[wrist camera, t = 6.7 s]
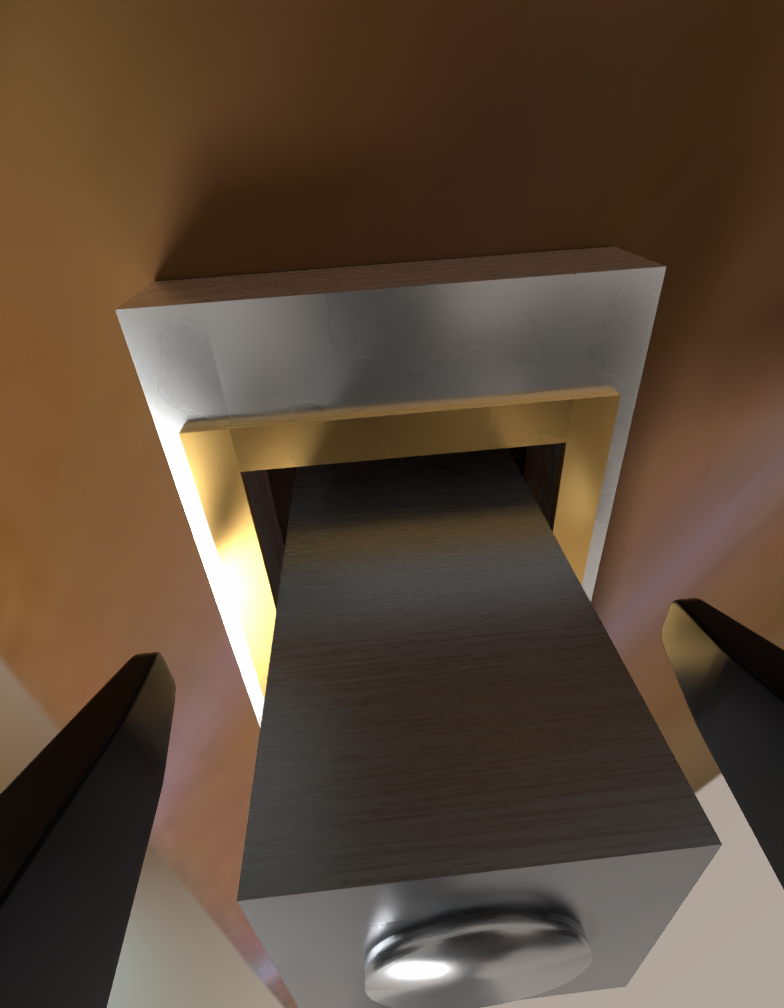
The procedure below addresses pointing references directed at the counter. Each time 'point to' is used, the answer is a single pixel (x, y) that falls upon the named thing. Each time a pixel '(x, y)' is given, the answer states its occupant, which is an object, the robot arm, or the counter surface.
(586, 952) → the gray knob block
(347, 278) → the socket frame
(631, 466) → the counter surface
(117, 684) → the robot arm
